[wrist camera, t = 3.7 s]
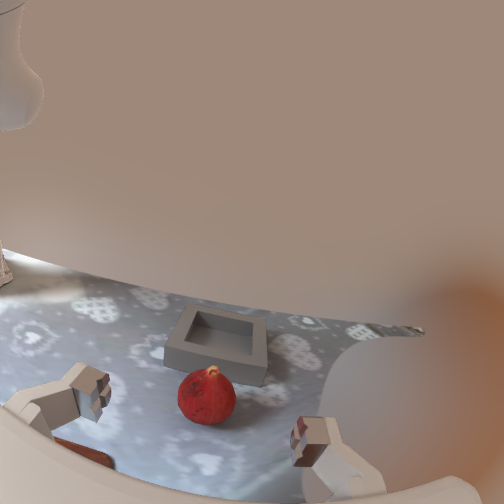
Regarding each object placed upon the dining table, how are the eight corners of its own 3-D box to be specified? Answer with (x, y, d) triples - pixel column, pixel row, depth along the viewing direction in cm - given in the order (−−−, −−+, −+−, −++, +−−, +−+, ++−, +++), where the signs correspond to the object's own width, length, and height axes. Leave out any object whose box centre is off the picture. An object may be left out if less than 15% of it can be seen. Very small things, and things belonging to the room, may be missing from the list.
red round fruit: (190, 445, 22) (198, 395, 20) (167, 406, 26) (171, 353, 24) (239, 429, 25) (255, 379, 23) (212, 396, 29) (223, 345, 27)
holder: (261, 387, 33) (267, 367, 32) (163, 365, 32) (164, 345, 32) (260, 336, 45) (265, 319, 45) (185, 320, 45) (188, 302, 44)
